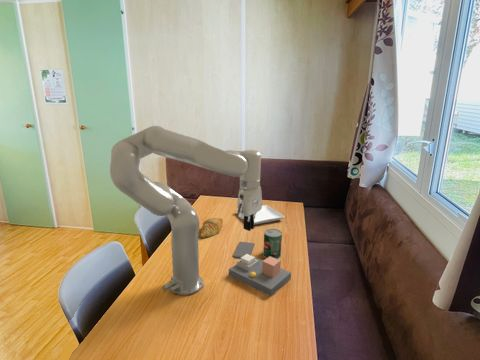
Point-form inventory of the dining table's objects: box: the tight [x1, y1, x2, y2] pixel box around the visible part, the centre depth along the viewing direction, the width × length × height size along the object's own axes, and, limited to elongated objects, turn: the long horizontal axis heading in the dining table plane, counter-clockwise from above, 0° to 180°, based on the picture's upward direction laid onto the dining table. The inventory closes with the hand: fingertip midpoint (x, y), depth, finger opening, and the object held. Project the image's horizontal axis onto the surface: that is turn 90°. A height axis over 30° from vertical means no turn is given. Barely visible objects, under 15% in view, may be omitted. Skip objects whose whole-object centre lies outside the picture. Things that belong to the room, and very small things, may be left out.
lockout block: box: [262, 256, 282, 277], centre depth 120 cm, size 5×5×5 cm
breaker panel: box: [228, 257, 292, 297], centre depth 122 cm, size 14×20×5 cm
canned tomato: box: [262, 228, 283, 260], centre depth 138 cm, size 8×8×11 cm
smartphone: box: [232, 241, 255, 259], centre depth 143 cm, size 8×1×15 cm
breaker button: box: [240, 254, 256, 266], centre depth 125 cm, size 4×4×2 cm
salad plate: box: [236, 204, 285, 225], centre depth 180 cm, size 21×21×3 cm
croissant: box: [200, 217, 224, 238], centre depth 162 cm, size 21×10×8 cm, turn 158°
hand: (248, 228), depth 121 cm, fingers closed
